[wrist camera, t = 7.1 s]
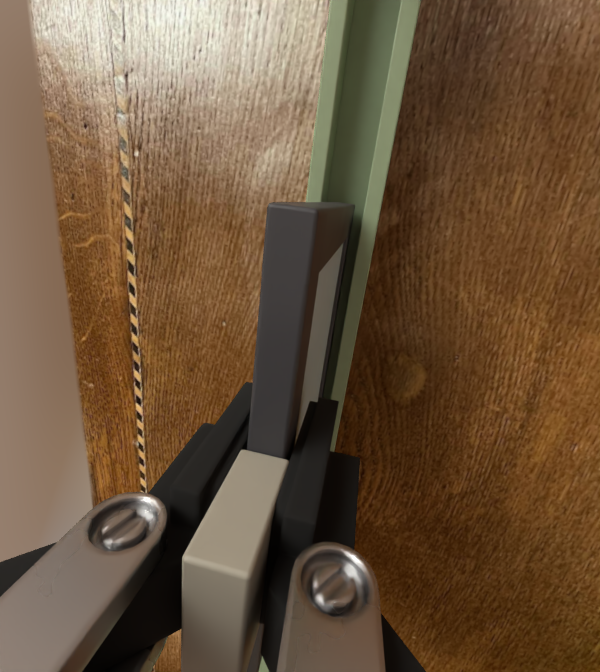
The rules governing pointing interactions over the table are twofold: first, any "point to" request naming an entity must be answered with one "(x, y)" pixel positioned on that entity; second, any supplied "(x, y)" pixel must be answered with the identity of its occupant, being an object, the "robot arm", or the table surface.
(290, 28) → the table surface
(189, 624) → the window pane
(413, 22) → the window frame
